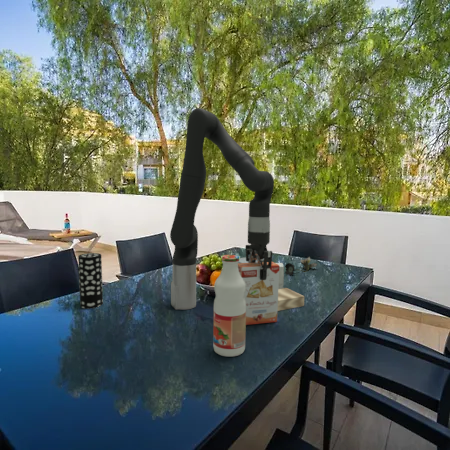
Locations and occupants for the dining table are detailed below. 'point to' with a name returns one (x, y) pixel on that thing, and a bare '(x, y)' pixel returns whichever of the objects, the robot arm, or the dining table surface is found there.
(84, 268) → the white-spotted black cylinder
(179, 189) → the robot arm
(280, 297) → the birch plinth
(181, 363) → the dining table surface
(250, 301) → the cracker box
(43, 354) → the dining table surface
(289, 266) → the artificial flower
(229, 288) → the fruit juice
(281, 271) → the supplement box
